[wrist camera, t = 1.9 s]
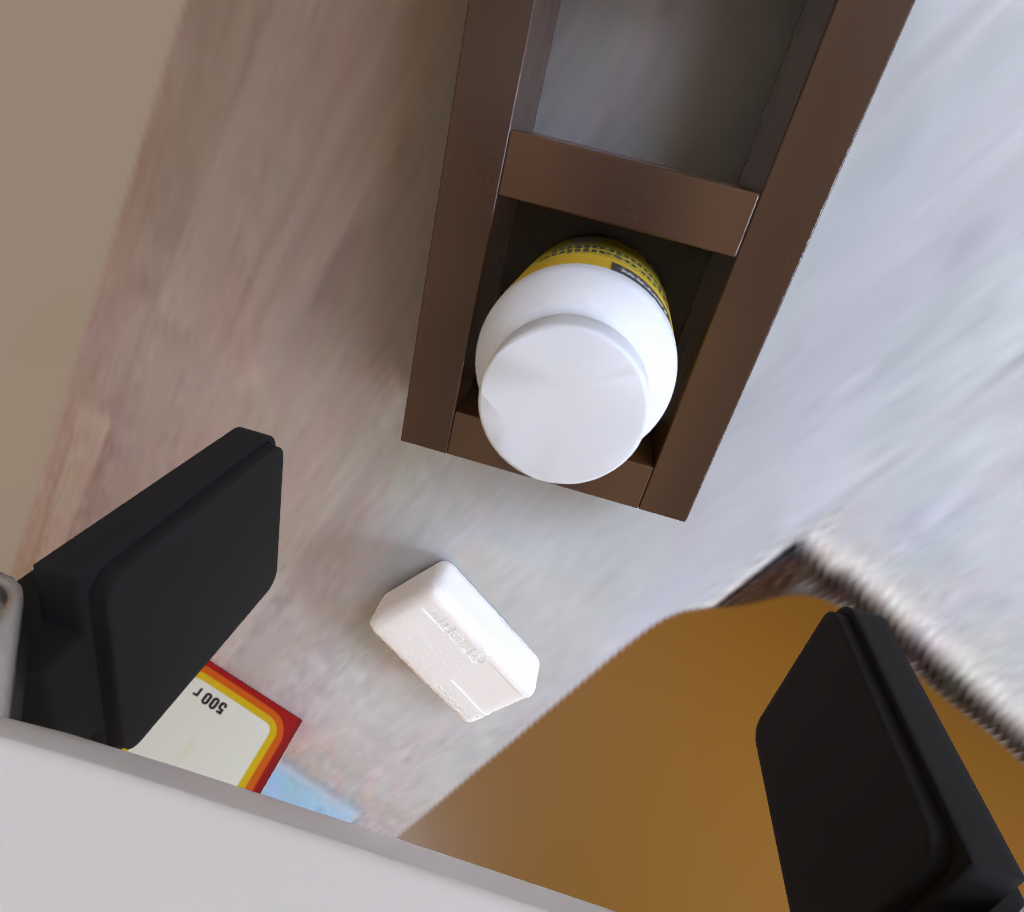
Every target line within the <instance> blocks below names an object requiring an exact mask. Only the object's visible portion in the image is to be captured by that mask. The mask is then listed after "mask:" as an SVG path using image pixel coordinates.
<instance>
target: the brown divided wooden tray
mask: <svg viewBox="0 0 1024 912" xmlns="http://www.w3.org/2000/svg"><path fill="white" fill-rule="evenodd" d="M560 1H561V0H469V1H468V8H467V14H466V21H465V27H464V34H463V40H462V47H461V53H460V60H459V66H458V73H457V79H456V86H455V92H454V99H453V105H452V112H451V118H450V125H449V131H448V138H447V144H446V151H445V157H444V164H443V170H442V177H441V183H440V190H439V196H438V203H437V209H436V216H435V222H434V229H433V235H432V241H431V248H430V254H429V261H428V267H427V274H426V280H425V287H424V293H423V300H422V306H421V313H420V319H419V326H418V332H417V339H416V345H415V352H414V358H413V365H412V371H411V378H410V384H409V391H408V397H407V404H406V410H405V417H404V423H403V430H402V436H401V440H402V441H405V442H409V443H412V444H416V445H419V446H422V447H426V448H429V449H433V450H436V451H440V452H443V453H448V454H451V455H454V456H458V457H461V458H465V459H468V460H472V461H475V462H479V463H482V464H486V465H489V466H493V467H496V468H500V469H503V470H507V471H510V472H513V473H517V474H520V475H524V476H527V477H530V476H528V475H526V474H524V473H522V472H520V471H518V470H517V469H515V468H514V467H513V466H511V465H510V464H508V463H507V462H506V461H505V460H504V459H503V458H502V457H501V456H500V455H499V454H498V453H497V451H496V450H495V449H494V448H493V446H492V445H491V443H490V442H489V440H488V438H487V436H486V434H485V431H484V429H483V426H482V423H481V419H480V415H479V408H478V396H479V386H478V382H477V376H476V366H475V360H476V348H477V343H478V338H479V335H480V332H481V329H482V326H483V324H484V322H485V319H486V317H487V316H488V314H489V312H490V311H491V309H492V307H493V306H494V305H495V303H496V301H497V296H498V292H499V287H500V282H501V278H502V273H503V268H504V264H505V259H506V254H507V250H508V245H509V240H510V235H511V231H512V226H513V221H514V217H515V212H516V207H517V203H518V200H520V201H524V202H527V203H531V204H535V205H539V206H542V207H546V208H550V209H554V210H558V211H561V212H565V213H569V214H573V215H576V216H580V217H584V218H588V219H592V220H595V221H599V222H603V223H607V224H611V225H614V226H618V227H622V228H626V229H629V230H633V231H637V232H641V233H645V234H648V235H652V236H656V237H660V238H663V239H667V240H671V241H675V242H679V243H682V244H686V245H690V246H694V247H697V248H701V249H705V250H709V251H713V252H712V255H711V258H710V261H709V263H708V266H707V269H706V271H705V274H704V277H703V279H702V282H701V285H700V287H699V290H698V293H697V296H696V298H695V301H694V304H693V306H692V309H691V312H690V314H689V317H688V320H687V323H686V325H685V328H684V331H683V333H682V336H681V339H680V341H679V344H678V347H677V376H676V382H675V387H674V391H673V394H672V397H671V400H670V402H669V404H668V406H667V408H666V410H665V412H664V414H663V415H662V417H661V418H660V420H659V421H658V422H657V424H656V425H655V426H654V427H653V428H652V430H651V431H650V432H649V433H648V434H647V435H645V436H644V437H643V438H642V439H641V441H640V443H639V445H638V447H637V448H636V450H635V451H634V452H633V454H632V455H631V456H630V457H629V458H628V459H627V460H626V461H625V462H624V463H623V464H621V465H620V466H619V467H617V468H616V469H615V470H613V471H611V472H610V473H608V474H606V475H604V476H602V477H600V478H597V479H595V480H591V481H587V482H583V483H577V484H556V483H552V484H555V485H559V486H562V487H566V488H569V489H572V490H576V491H579V492H583V493H586V494H590V495H593V496H597V497H600V498H604V499H607V500H611V501H614V502H618V503H621V504H625V505H628V506H631V507H635V508H638V507H639V509H642V510H645V511H649V512H652V513H656V514H659V515H663V516H666V517H670V518H673V519H677V520H680V521H684V522H685V521H686V519H687V517H688V515H689V512H690V510H691V508H692V506H693V503H694V501H695V499H696V497H697V494H698V492H699V490H700V488H701V485H702V483H703V481H704V478H705V476H706V474H707V472H708V469H709V467H710V465H711V463H712V460H713V458H714V456H715V454H716V451H717V449H718V447H719V444H720V442H721V440H722V438H723V435H724V433H725V431H726V429H727V426H728V424H729V422H730V420H731V417H732V415H733V413H734V410H735V408H736V406H737V404H738V401H739V399H740V397H741V395H742V392H743V390H744V388H745V386H746V383H747V381H748V379H749V376H750V374H751V372H752V370H753V367H754V365H755V363H756V361H757V358H758V356H759V354H760V352H761V349H762V347H763V345H764V342H765V340H766V338H767V336H768V333H769V331H770V329H771V327H772V324H773V322H774V320H775V318H776V315H777V313H778V311H779V308H780V306H781V304H782V302H783V299H784V297H785V295H786V293H787V290H788V288H789V286H790V284H791V281H792V279H793V277H794V274H795V272H796V270H797V268H798V265H799V263H800V261H801V259H802V256H803V254H804V252H805V250H806V247H807V245H808V243H809V240H810V238H811V236H812V234H813V231H814V229H815V227H816V225H817V222H818V220H819V218H820V216H821V213H822V211H823V209H824V206H825V204H826V202H827V200H828V197H829V195H830V193H831V191H832V188H833V186H834V184H835V182H836V179H837V177H838V175H839V172H840V170H841V168H842V166H843V163H844V161H845V159H846V157H847V154H848V152H849V150H850V148H851V145H852V143H853V141H854V138H855V136H856V134H857V132H858V129H859V127H860V125H861V123H862V120H863V118H864V116H865V114H866V111H867V109H868V107H869V104H870V102H871V100H872V98H873V95H874V93H875V91H876V89H877V86H878V84H879V82H880V80H881V77H882V75H883V73H884V70H885V68H886V66H887V64H888V61H889V59H890V57H891V55H892V52H893V50H894V48H895V46H896V43H897V41H898V39H899V36H900V34H901V32H902V30H903V27H904V25H905V23H906V21H907V18H908V16H909V14H910V11H911V9H912V7H913V5H914V2H915V0H806V2H805V4H804V7H803V10H802V12H801V15H800V18H799V21H798V23H797V26H796V29H795V31H794V34H793V37H792V39H791V42H790V45H789V47H788V50H787V53H786V56H785V58H784V61H783V64H782V66H781V69H780V72H779V74H778V77H777V80H776V83H775V85H774V88H773V91H772V93H771V96H770V99H769V101H768V104H767V107H766V110H765V112H764V115H763V118H762V120H761V123H760V126H759V128H758V131H757V134H756V136H755V139H754V142H753V145H752V147H751V150H750V153H749V155H748V158H747V161H746V163H745V166H744V169H743V172H742V174H741V177H740V180H739V182H738V185H735V184H731V183H727V182H723V181H719V180H715V179H712V178H708V177H704V176H700V175H696V174H692V173H688V172H685V171H681V170H677V169H673V168H669V167H665V166H661V165H657V164H654V163H650V162H646V161H642V160H638V159H634V158H630V157H626V156H623V155H619V154H615V153H611V152H607V151H603V150H599V149H595V148H592V147H588V146H584V145H580V144H576V143H572V142H568V141H564V140H561V139H557V138H553V137H549V136H545V135H541V134H537V133H533V128H534V123H535V118H536V114H537V109H538V104H539V99H540V95H541V90H542V85H543V81H544V76H545V71H546V67H547V62H548V57H549V53H550V48H551V43H552V39H553V34H554V29H555V24H556V20H557V15H558V10H559V6H560ZM531 478H532V477H531ZM548 483H550V482H548Z"/></svg>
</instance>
